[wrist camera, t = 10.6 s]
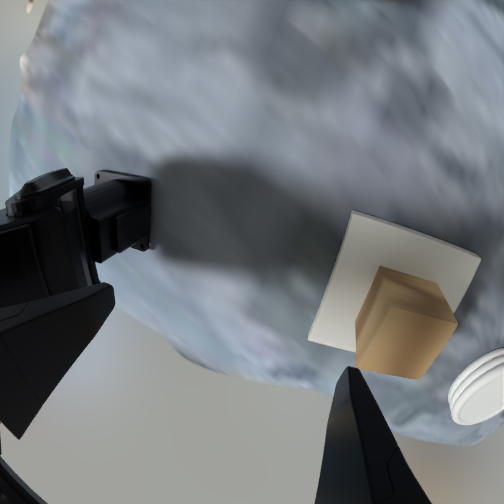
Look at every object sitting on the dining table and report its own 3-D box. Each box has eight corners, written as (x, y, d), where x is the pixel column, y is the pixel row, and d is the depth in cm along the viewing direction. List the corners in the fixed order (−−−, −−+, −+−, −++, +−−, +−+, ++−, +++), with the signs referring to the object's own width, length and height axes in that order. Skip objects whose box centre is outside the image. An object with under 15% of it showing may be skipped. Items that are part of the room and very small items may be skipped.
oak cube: (354, 321, 20) (356, 367, 16) (379, 265, 18) (391, 306, 13) (408, 334, 19) (419, 379, 15) (436, 283, 17) (458, 324, 12)
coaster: (445, 369, 21) (452, 395, 18) (521, 330, 17) (534, 352, 13) (447, 414, 23) (451, 436, 20) (512, 384, 19) (519, 403, 16)
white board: (309, 332, 23) (307, 340, 22) (352, 209, 18) (353, 213, 17) (417, 358, 21) (419, 365, 20) (476, 253, 16) (481, 259, 15)
